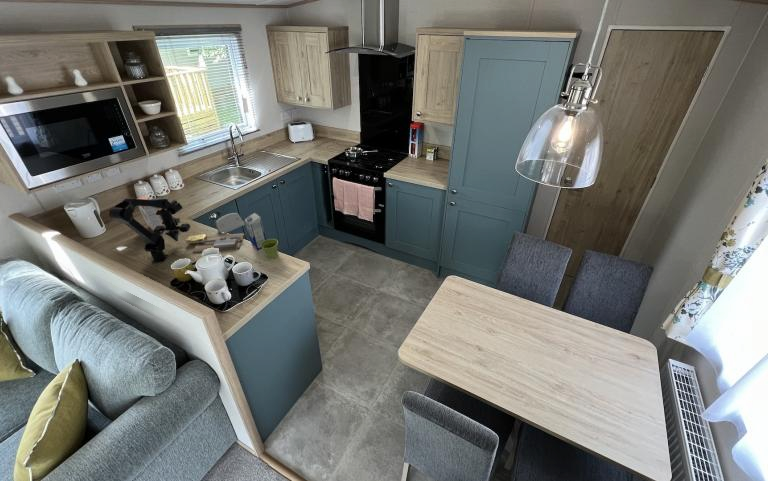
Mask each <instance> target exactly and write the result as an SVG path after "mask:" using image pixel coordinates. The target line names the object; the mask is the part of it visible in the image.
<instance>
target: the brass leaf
mask: <svg viewBox="0 0 768 481" xmlns="http://www.w3.org/2000/svg"><path fill="white" fill-rule="evenodd" d="M206 238H207V234H205V233H204V234H195V235H188V237H187V238H186V239H185V243H186V245H190V244H191V245H192V244H197V243H198V242H197V241H204V240H206Z"/></svg>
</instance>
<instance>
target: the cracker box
mask: <svg viewBox="0 0 768 481" xmlns="http://www.w3.org/2000/svg"><path fill="white" fill-rule="evenodd" d="M137 199H147V200H149V198H147V197H146V196H141V197H138V198H137ZM137 207H138V209H139V211H140V213H141V215H142V217H143V219H144V221H145V223H146V226H147V227H148V228H149V229H150V230H152V231H153V230H154V229H155V228H156V227H157V226H164V224H162V222H163V221H162V219H161V217H160V215H156V212H157V208H153V207H150V206H137ZM160 232H161V233H162V232H164V231H160Z"/></svg>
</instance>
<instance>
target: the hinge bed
mask: <svg viewBox="0 0 768 481" xmlns="http://www.w3.org/2000/svg"><path fill="white" fill-rule="evenodd" d="M206 236H207V235H206ZM244 236H245V233H233V234H232V233H231V234H220V235H209V236H207V238H206V240H204V241H197V242H198V243H196V245H195V247H194V249H193V250H192V254H197V253H198V254H199V253H203V252H202V251H203V250H204V249H207V248H211V247H214V248H219V250H221V251H228V250H238V249H240V247H241V244H242V242H243V240H242V239H244Z"/></svg>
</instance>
